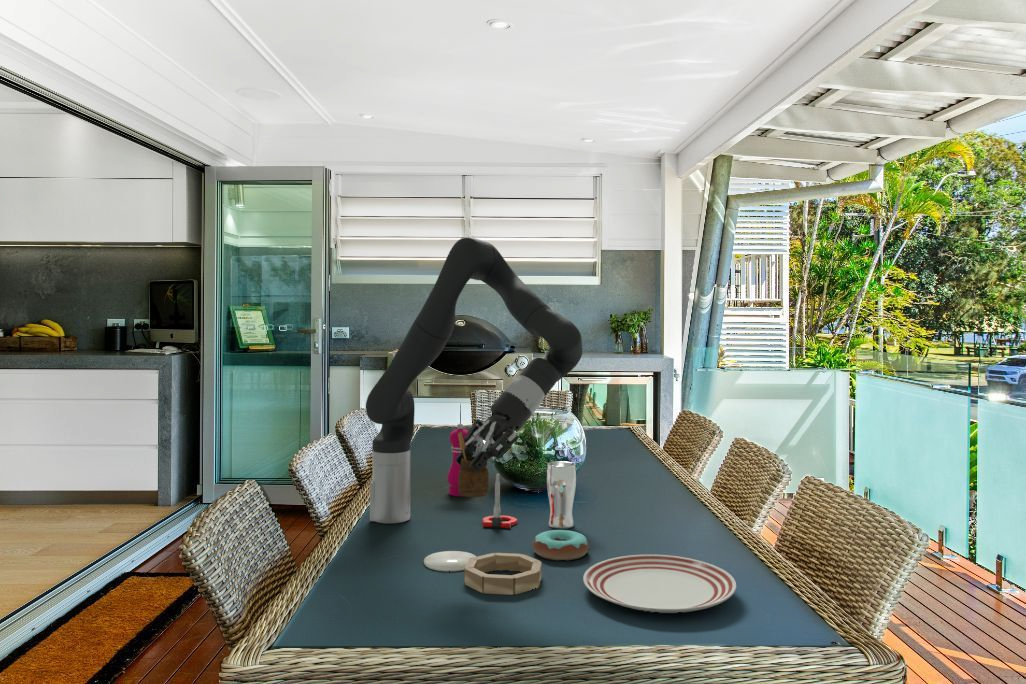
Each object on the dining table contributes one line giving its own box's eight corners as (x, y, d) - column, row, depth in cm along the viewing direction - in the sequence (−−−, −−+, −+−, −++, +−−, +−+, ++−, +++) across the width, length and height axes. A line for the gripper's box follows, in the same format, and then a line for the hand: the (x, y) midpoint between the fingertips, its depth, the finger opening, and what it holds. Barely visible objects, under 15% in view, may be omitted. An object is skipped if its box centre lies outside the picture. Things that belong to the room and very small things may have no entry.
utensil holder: (481, 499, 146) (483, 437, 146) (451, 495, 148) (453, 434, 148) (492, 492, 152) (494, 432, 151) (463, 488, 154) (465, 430, 153)
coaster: (418, 570, 150) (418, 567, 150) (430, 552, 161) (430, 550, 161) (473, 572, 149) (473, 569, 149) (481, 554, 160) (481, 552, 160)
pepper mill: (476, 492, 216) (476, 422, 215) (466, 497, 209) (467, 425, 209) (453, 490, 218) (453, 421, 218) (443, 495, 212) (443, 424, 211)
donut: (553, 567, 153) (553, 547, 153) (521, 551, 164) (522, 532, 163) (600, 557, 160) (600, 538, 160) (566, 542, 170) (566, 524, 170)
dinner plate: (635, 636, 121) (635, 616, 121) (557, 580, 146) (557, 563, 146) (769, 610, 132) (770, 591, 131) (675, 562, 157) (676, 546, 157)
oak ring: (460, 592, 139) (460, 576, 139) (473, 566, 153) (473, 551, 153) (537, 595, 137) (537, 579, 137) (543, 569, 151) (543, 554, 151)
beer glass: (579, 523, 184) (580, 462, 184) (569, 531, 178) (569, 467, 177) (553, 520, 187) (553, 460, 187) (542, 527, 181) (542, 465, 180)
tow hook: (486, 519, 190) (478, 527, 180) (486, 467, 190) (479, 473, 181) (519, 521, 188) (513, 529, 179) (520, 469, 188) (514, 475, 179)
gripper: (489, 386, 159) (436, 448, 153) (527, 394, 147) (472, 461, 141) (509, 410, 162) (459, 471, 156) (548, 419, 150) (495, 486, 144)
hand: (465, 466), depth 149 cm, fingers closed on utensil holder, 5 cm apart
